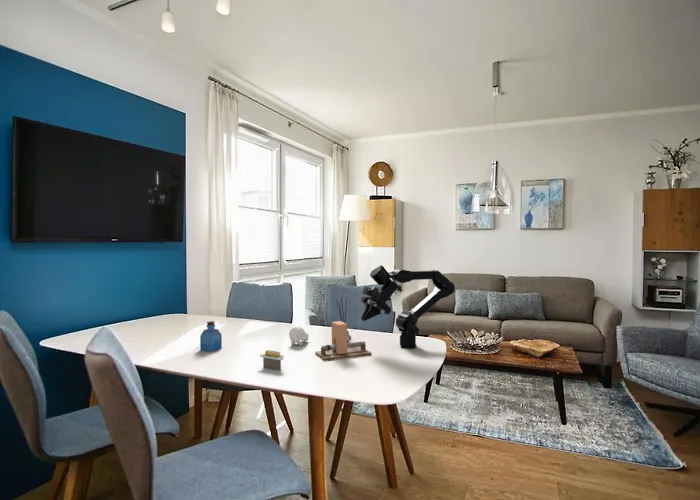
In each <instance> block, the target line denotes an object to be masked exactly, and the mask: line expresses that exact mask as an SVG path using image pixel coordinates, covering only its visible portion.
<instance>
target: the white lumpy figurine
mask: <svg viewBox="0 0 700 500" xmlns="http://www.w3.org/2000/svg"><path fill="white" fill-rule="evenodd" d="M288 336H289V340H290V343H291V345H292V346H294V345H295V344H297V345H298V346H304V344H303V342H308V340H309V333H308V332H307V331H305V329H304V328H303V327H302V326H300V325H294V326H292V328H291V329H290V330H289V333H288Z"/></svg>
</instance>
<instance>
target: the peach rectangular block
mask: <svg viewBox="0 0 700 500" xmlns="http://www.w3.org/2000/svg"><path fill="white" fill-rule="evenodd" d="M347 331H348V324H347V323H346V322H345V321H343V322H342V320H339V321H338V320H337V321H331V345H335V344H336V349H335V350H332V351H336V353H337V354H344V353H347V343H348V340H347Z"/></svg>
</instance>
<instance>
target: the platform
mask: <svg viewBox="0 0 700 500" xmlns="http://www.w3.org/2000/svg"><path fill="white" fill-rule="evenodd" d="M259 357H260V358H263V362H262V364H263V365H262V366H263V368H264V369H271V370H275V369H276V370H277V371H281V370H282V365H281V364H282V362H281V361H283V360H284V355H282V354H281V351H276V350H269V349H267V350H265V352H264V353H263V354H260V355H259ZM276 370H275V371H276Z"/></svg>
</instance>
